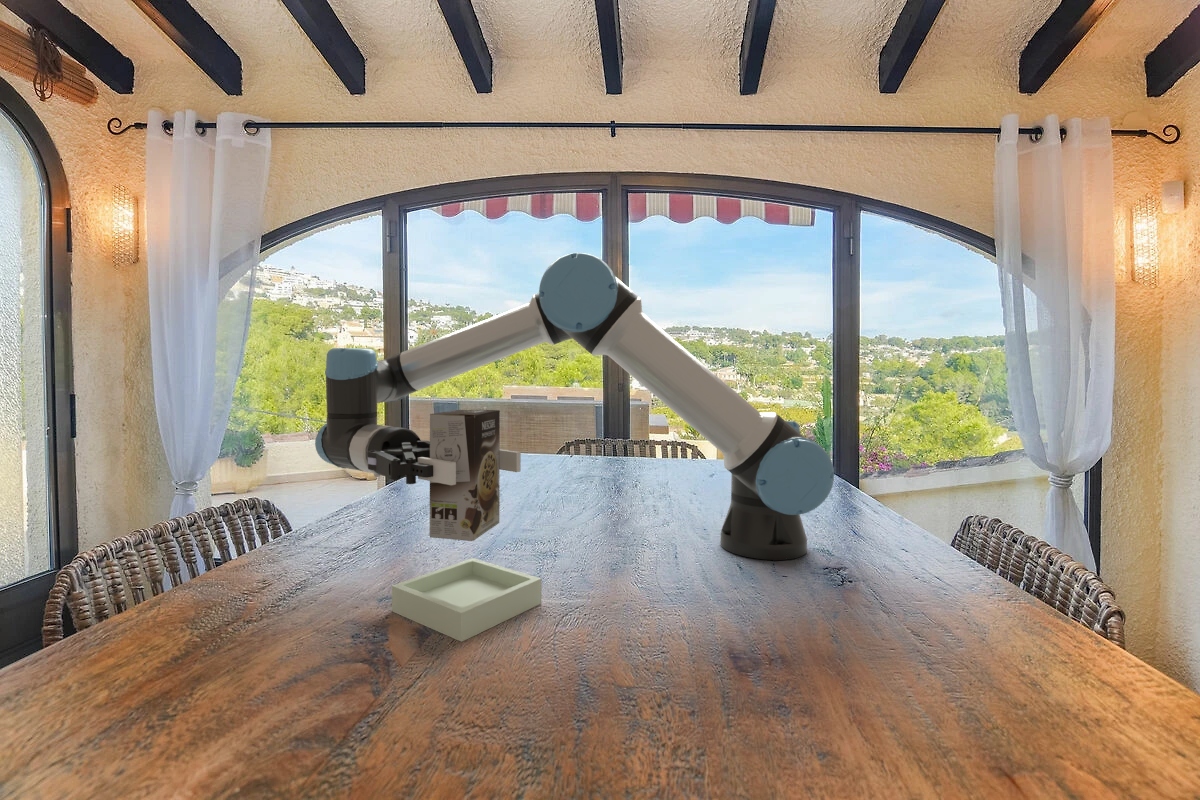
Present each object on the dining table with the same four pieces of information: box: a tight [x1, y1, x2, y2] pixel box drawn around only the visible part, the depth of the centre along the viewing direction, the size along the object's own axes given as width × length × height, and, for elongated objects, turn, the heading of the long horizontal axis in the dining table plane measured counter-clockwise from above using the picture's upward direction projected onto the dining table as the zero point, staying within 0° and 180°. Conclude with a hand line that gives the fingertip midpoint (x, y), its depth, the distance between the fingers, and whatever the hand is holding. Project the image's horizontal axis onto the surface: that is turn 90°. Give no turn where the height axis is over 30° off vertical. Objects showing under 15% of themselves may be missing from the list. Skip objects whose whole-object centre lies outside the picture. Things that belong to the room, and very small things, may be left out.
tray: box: [391, 557, 543, 643], centre depth 78 cm, size 14×14×4 cm
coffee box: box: [428, 409, 501, 542], centre depth 77 cm, size 9×6×16 cm
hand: (488, 467), depth 75 cm, fingers closed on coffee box, 10 cm apart
